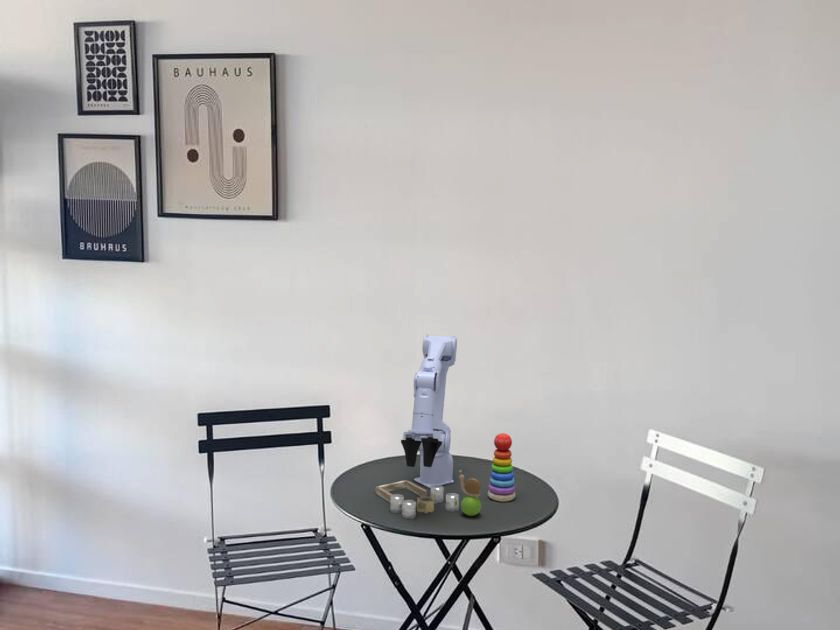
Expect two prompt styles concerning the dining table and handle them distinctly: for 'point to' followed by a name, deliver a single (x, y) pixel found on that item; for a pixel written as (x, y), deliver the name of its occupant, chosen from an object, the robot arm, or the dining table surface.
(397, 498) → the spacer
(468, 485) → the snail figurine
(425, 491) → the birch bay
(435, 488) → the cylinder
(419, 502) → the brass nut
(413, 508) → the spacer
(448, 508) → the cylinder
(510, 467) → the stacking toy
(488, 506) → the dining table surface
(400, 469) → the dining table surface
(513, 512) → the dining table surface
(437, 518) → the dining table surface
